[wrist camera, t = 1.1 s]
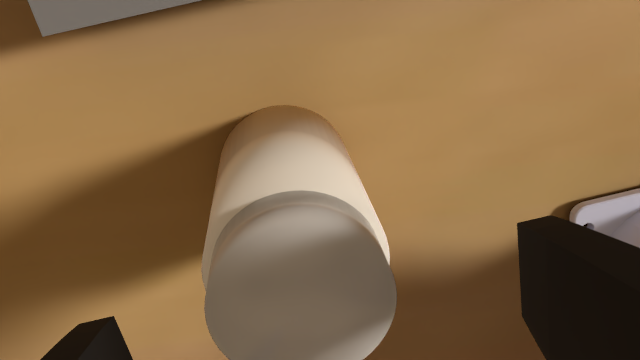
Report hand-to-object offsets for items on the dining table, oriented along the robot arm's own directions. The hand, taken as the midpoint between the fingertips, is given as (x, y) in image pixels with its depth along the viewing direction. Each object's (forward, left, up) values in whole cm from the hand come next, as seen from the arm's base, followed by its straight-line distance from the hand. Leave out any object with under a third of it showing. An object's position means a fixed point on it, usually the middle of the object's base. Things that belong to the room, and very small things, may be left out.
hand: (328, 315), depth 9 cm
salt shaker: (-1, 0, -10) cm, 10 cm away
